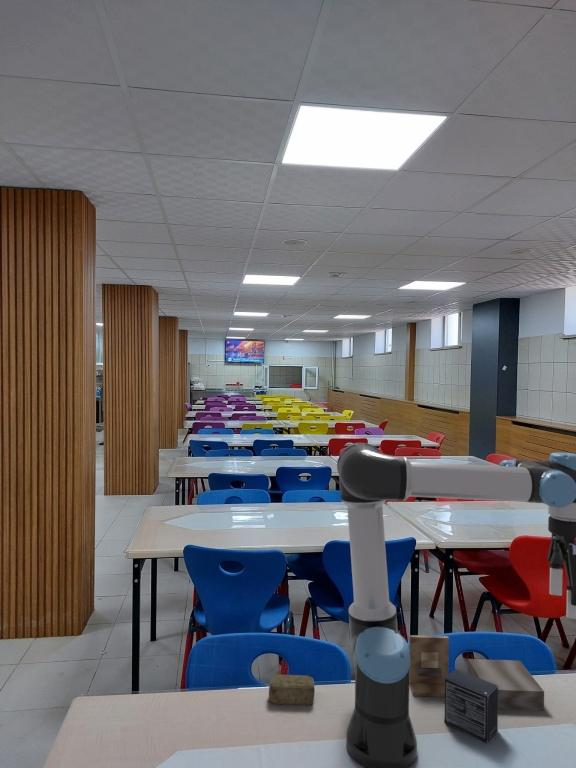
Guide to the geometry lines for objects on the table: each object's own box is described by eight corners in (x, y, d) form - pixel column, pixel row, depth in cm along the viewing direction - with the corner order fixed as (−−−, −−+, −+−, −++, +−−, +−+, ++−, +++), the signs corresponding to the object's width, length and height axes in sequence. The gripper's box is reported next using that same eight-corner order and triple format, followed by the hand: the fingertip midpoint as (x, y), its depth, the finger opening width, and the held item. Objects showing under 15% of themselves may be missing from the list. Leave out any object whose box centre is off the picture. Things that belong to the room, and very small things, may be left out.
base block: (486, 709, 124) (486, 689, 124) (467, 677, 138) (468, 659, 138) (543, 711, 124) (544, 691, 124) (519, 679, 138) (519, 660, 138)
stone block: (314, 707, 124) (315, 686, 124) (268, 706, 124) (268, 686, 124) (314, 692, 130) (314, 673, 130) (269, 692, 130) (269, 672, 130)
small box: (499, 730, 116) (499, 684, 116) (488, 744, 111) (488, 697, 111) (455, 710, 123) (455, 667, 123) (443, 722, 119) (443, 677, 119)
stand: (413, 695, 129) (413, 644, 129) (408, 682, 135) (408, 633, 135) (452, 697, 128) (453, 645, 128) (446, 683, 134) (446, 634, 134)
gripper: (603, 533, 109) (601, 631, 108) (566, 507, 133) (564, 587, 133) (565, 529, 110) (563, 627, 110) (535, 504, 135) (534, 584, 134)
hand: (564, 605), depth 121 cm, fingers open, 13 cm apart
